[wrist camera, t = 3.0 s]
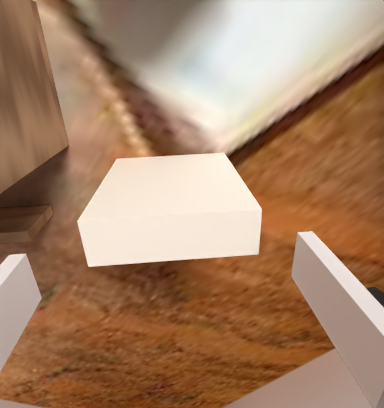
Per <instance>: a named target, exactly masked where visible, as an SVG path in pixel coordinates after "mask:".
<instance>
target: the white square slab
mask: <svg viewBox="0 0 384 408" xmlns="http://www.w3.org/2000/svg"><path fill="white" fill-rule="evenodd" d="M261 216H262V208H261V207H260V205H259V204H258V203H257V201H256V200H255V198H254V197H253V195H252V194H251V192H250V191H249V189H248V188H247V186H246V185H245V183H244V182H243V180H242V179H241V177H240V176H239V174H238V173H237V171H236V170H235V168H234V167H233V165H232V164H231V162H230V161H229V160H228V158H227V157H226V155H225V154H224V153H212V154H195V155H177V156H159V157H141V158H123V159H116V161H115V162H114V164H113V166H112V167H111V169H110V170H109V172H108V174H107V175H106V177H105V178H104V180H103V181H102V183H101V185H100V186H99V188H98V189H97V191H96V193H95V194H94V196H93V197H92V199H91V200H90V202H89V204H88V205H87V207H86V208H85V210H84V212H83V213H82V215H81V216H80V218H79V219H78V221H77V222H78V226H79V231H80V235H81V239H82V243H83V247H84V251H85V255H86V259H87V263H88V267H92V266H106V265H119V264H133V263H146V262H160V261H173V260H187V259H200V258H214V257H227V256H241V255H255V254H259V241H260V229H261Z"/></svg>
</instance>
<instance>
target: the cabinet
mask: <svg viewBox="0 0 384 408" xmlns="http://www.w3.org/2000/svg"><path fill="white" fill-rule="evenodd" d="M68 145H69V144H68V139H67V135H66V131H65V126H64V122H63V118H62V113H61V109H60V105H59V100H58V96H57V92H56V87H55V83H54V79H53V74H52V70H51V66H50V61H49V57H48V53H47V48H46V44H45V40H44V35H43V31H42V27H41V22H40V18H39V14H38V9H37V5H36V2H34V1H33V0H0V193H2V192H3V191H5V190H6V189H8V188H9V187H10V186H12V185H13V184H15V183H16V182H17V181H19V180H20V179H22V178H23V177H25V176H26V175H27V174H29V173H30V172H32V171H33V170H34V169H36V168H37V167H39V166H40V165H42V164H43V163H44V162H46V161H47V160H49V159H50V158H51V157H53V156H54V155H56V154H57V153H59V152H60V151H61V150H63V149H64V148H66V147H67V146H68ZM52 215H53V210H52V207H51V205H42V206H26V207H10V208H0V244H4V243H19V242H31V240H32V239H33V238H34V237H35V236H36V234H37V233H38V232H39V231H40V230H41V228H42V227H43V226H44V225H45V224H46V222H47V221H48V220H49V219H50V218H51V216H52Z"/></svg>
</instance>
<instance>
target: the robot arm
mask: <svg viewBox="0 0 384 408" xmlns="http://www.w3.org/2000/svg"><path fill="white" fill-rule="evenodd" d="M291 277H292V278H293V280H294V282H295V283H296V285H297V286H298V288H299V290H300V291H301V293H302V295H303V296H304V298H305V299H306V301H307V303H308V304H309V306H310V307H311V309H312V311H313V312H314V314H315V316H316V317H317V319H318V320H319V322H320V324H321V325H322V327H323V328H324V330H325V332H326V333H327V335H328V337H329V338H330V340H331V341H332V343H333V345H334V346H335V348H336V349H337V351H338V353H339V354H340V356H341V357H342V359H343V361H344V362H345V364H346V365H347V367H348V369H349V370H350V372H351V373H352V375H353V377H354V378H355V380H356V382H357V383H358V385H359V386H360V388H361V390H362V391H363V393H364V395H365V396H366V397H367V399H368V401H369V403H370V404H371V406H372V408H384V293H383V292H382V291H380V290H379V289H377V288H375V287H372V288H365V287H364V286H363V285H362V284H361V283H360V282H359V281H358V279H357V278H356V277H355V276H354V275H353V274H352V273H351V272H350V271H349V270H348V269H347V268H346V267H345V266H344V265H343V263H342V262H341V261H340V260H339V259H338V258H337V257H336V256H335V255H334V254H333V253H332V252H331V251H330V250H329V248H328V247H327V246H326V245H325V244H324V243H323V242H322V241H321V240H320V239H319V238H318V237H317V236H316V235H315V234H314V232H313V231H310V232H297V239H296V246H295V253H294V261H293V268H292V275H291ZM41 299H42V297H41V294H40V292H39V289H38V286H37V283H36V280H35V277H34V275H33V272H32V269H31V266H30V263H29V260H28V258H27V255H26V254H13V255H9V256H8V257H7V258H6V259H5V260H4V261H3V262H2V264H1V265H0V372H1V370H2V368H3V366H4V364H5V363H6V361H7V359H8V357H9V356H10V354H11V352H12V350H13V348H14V347H15V345H16V343H17V341H18V340H19V338H20V336H21V334H22V332H23V331H24V329H25V327H26V325H27V324H28V322H29V320H30V318H31V316H32V315H33V313H34V311H35V309H36V308H37V306H38V304H39V302H40V300H41Z"/></svg>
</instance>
